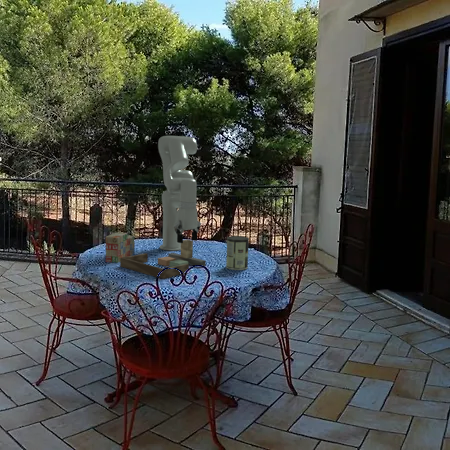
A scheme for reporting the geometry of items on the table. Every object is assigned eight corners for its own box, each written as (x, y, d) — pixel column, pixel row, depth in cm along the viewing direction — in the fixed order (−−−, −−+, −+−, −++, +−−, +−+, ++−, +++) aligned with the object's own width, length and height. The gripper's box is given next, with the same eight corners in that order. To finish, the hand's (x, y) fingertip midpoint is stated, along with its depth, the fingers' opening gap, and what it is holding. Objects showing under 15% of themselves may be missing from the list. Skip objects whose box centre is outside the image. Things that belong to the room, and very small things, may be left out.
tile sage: (178, 265, 234) (178, 259, 234) (188, 267, 230) (188, 261, 230) (169, 267, 229) (169, 261, 229) (179, 270, 226) (179, 263, 225)
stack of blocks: (123, 252, 255) (123, 229, 254) (134, 253, 254) (135, 230, 252) (105, 262, 235) (105, 236, 233) (117, 263, 234) (118, 237, 232)
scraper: (173, 258, 248) (173, 236, 246) (206, 266, 234) (207, 243, 232) (167, 259, 245) (167, 237, 243) (200, 268, 231) (201, 244, 229)
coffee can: (237, 263, 241) (238, 235, 239) (252, 268, 233) (253, 238, 231) (221, 266, 234) (222, 237, 232) (236, 271, 226) (237, 240, 224)
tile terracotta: (167, 262, 239) (167, 256, 239) (175, 265, 235) (176, 258, 235) (157, 264, 235) (157, 258, 234) (166, 266, 231) (166, 260, 230)
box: (145, 261, 238) (146, 253, 238) (188, 272, 220) (188, 264, 220) (120, 266, 227) (120, 257, 226) (163, 279, 209) (163, 269, 208)
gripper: (194, 204, 244) (194, 238, 246) (169, 205, 230) (168, 242, 233) (206, 205, 239) (205, 240, 241) (180, 207, 226) (179, 244, 228)
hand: (187, 241), depth 237 cm, fingers open, 9 cm apart
